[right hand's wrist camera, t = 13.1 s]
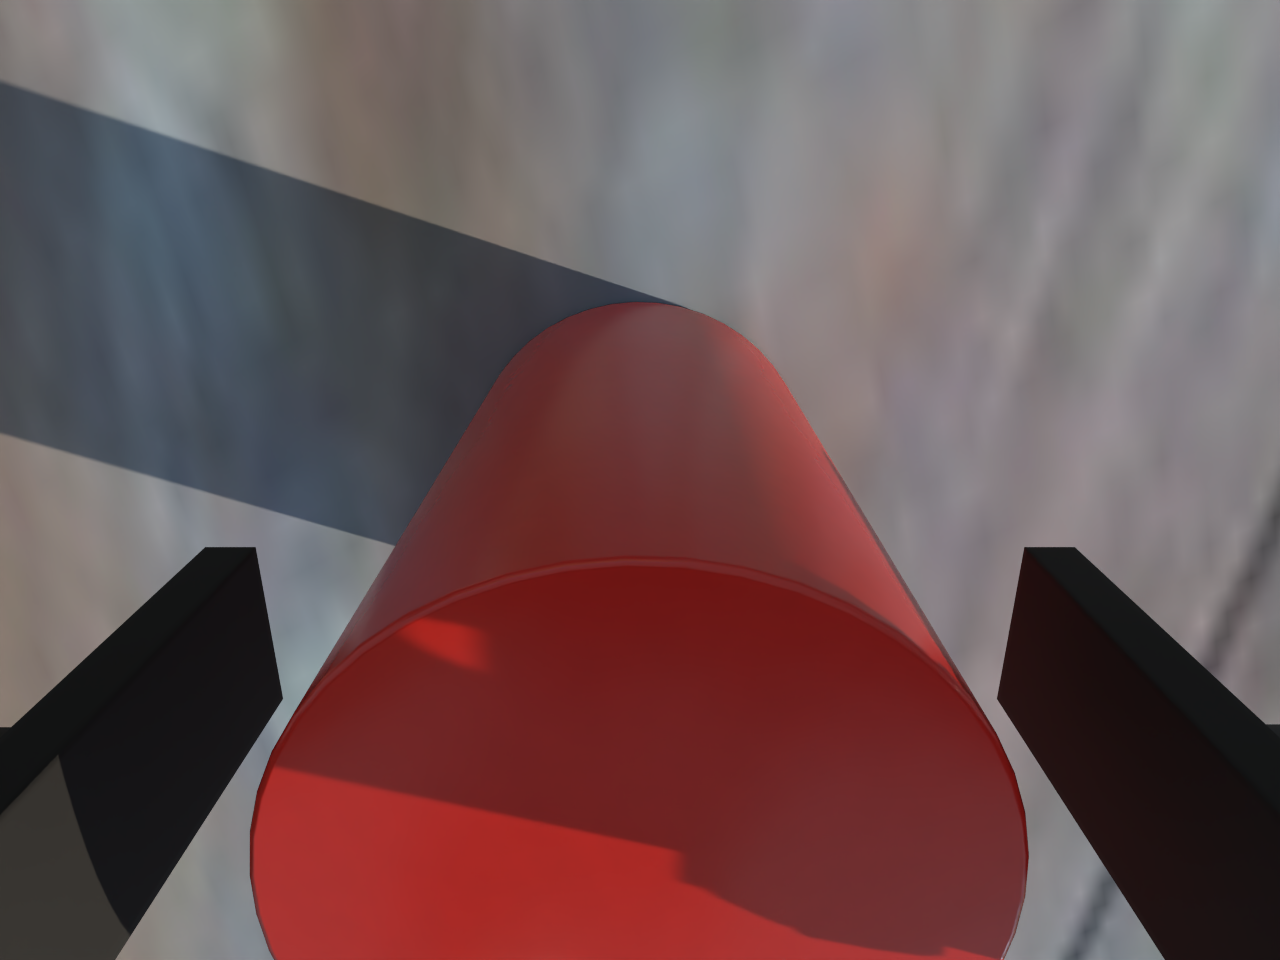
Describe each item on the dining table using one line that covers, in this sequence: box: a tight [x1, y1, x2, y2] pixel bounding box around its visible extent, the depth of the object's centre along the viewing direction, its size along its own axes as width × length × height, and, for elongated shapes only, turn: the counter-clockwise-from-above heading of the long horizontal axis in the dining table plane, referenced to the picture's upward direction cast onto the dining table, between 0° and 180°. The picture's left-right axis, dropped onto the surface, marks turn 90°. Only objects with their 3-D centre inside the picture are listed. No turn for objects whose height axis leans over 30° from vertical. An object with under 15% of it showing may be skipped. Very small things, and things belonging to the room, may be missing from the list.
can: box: [250, 302, 1029, 960], centre depth 14 cm, size 8×8×12 cm
